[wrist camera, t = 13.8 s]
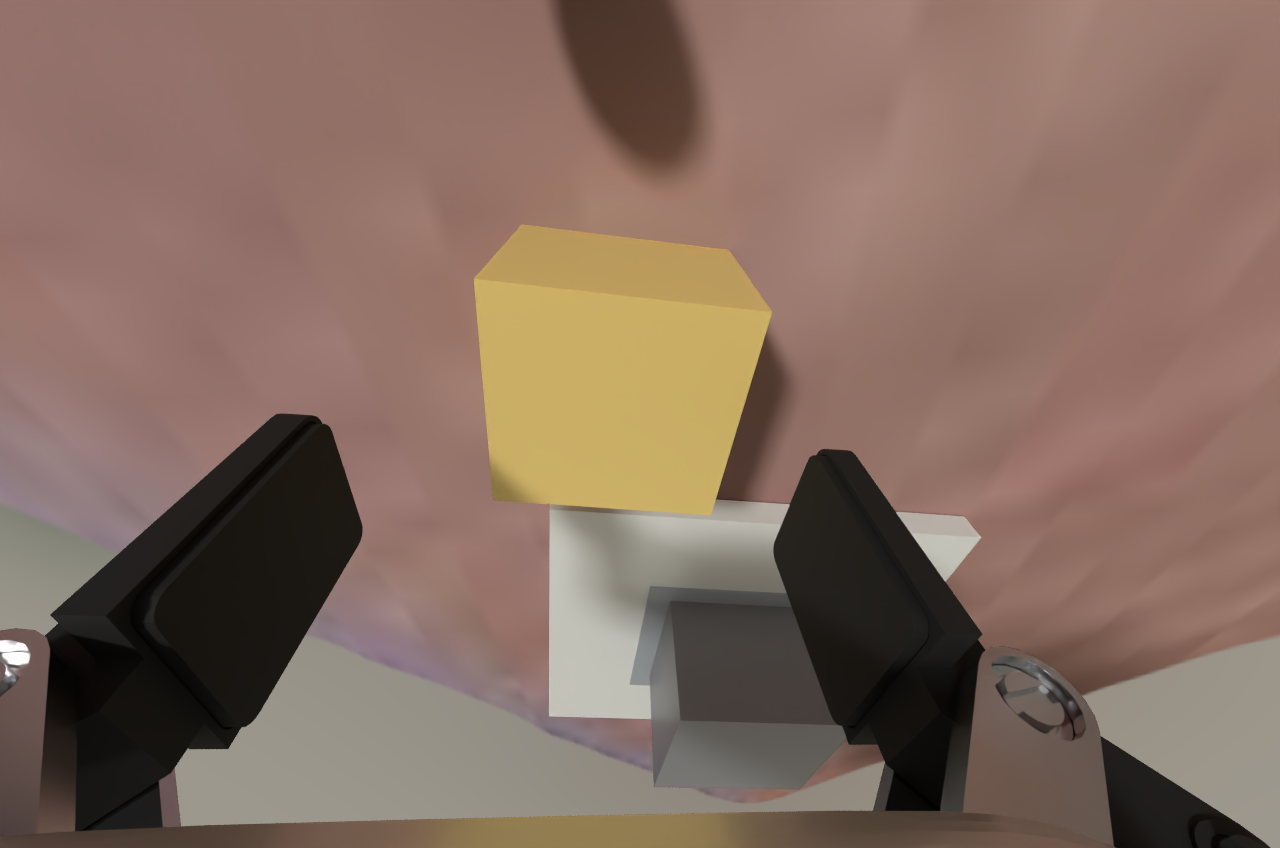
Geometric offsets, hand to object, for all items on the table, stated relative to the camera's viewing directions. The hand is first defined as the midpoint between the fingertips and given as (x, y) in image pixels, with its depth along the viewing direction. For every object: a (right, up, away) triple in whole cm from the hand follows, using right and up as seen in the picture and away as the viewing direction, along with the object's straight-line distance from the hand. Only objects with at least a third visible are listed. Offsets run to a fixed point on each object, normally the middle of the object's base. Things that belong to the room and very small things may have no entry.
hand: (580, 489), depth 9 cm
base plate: (+6, -9, +15) cm, 19 cm away
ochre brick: (0, +4, +6) cm, 7 cm away
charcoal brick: (+6, -10, +14) cm, 18 cm away
